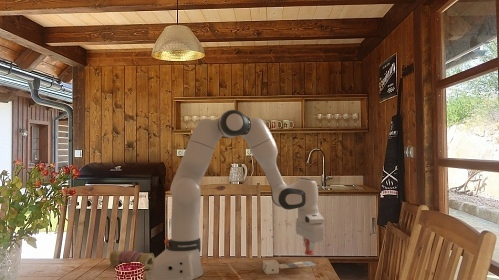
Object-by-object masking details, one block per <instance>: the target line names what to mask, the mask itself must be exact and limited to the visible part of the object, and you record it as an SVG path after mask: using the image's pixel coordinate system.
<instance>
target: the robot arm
mask: <svg viewBox="0 0 499 280" xmlns="http://www.w3.org/2000/svg"><path fill="white" fill-rule="evenodd" d="M236 137H241V138H243V139H244V141H245V142H246V144H247V146H248V148H249V150H250V153H251V154H252V156H253V157H254V159H255V160H256V162H257V163H258V165H259V166H260V167H261V169H262V171H263V173H264V175H265V176H266V180H267V181H268V182H267V183H269V186H270V187H269V188H270V196H271V197H270V198H271V200H272V202H273V204H274V205H275V206H277V207H278V208H279V207H280V208H282V209H284V210H287V211H290V210H294V209H295V210H296V209H297V218H296V219H295V221H296V222H295V232H296V233H295V234H296V235H298V236H300V237H302V241H303V247H304V248H305V249H306V244H305V242H306V239H308V240H309V242H310V245H309V250H311V251H312V250H313V251H315V250H314V249H315V245H316V244H317V243H323V241H324V234H325V233H324V231H325V230H324V229H325V228H324V225H323V224H324V223H325V218H324V217H323V216H322V214H321V213H320V210H319V204H318V202H319V189H318V183H317V182H316V181H315V180H314V179H310V178H304V177H301V178H299V179H298V180H296V181H294V182H293V183H291V184H289V185H288V184H287V183H285V182H284V179H283V177H282V175H281V173H280V170H279V167H278V165H277V158H278V154H279V151H278V146H277V143H276V141H275V138H274V137H273V134H272V132H271V130H270V129H269V127H268V126H267V124H266V123H265V122H264V120H263V119H262V118H260V117H251V118H249V116H247V115H245V114H244V113H243V112H241V111H239V110H236V109H230V110H227V111H225V112H223V113H222V114H221V115H220V116H219V117H218V118H217V119H214V120H213V119H211V118H202V119H201V120H199V121H198V122H197V124H196V125H195V127H194V129H193V131H192V132H191V135H190V138H189V140H188V142H187V145H186V148H185V151H184V154H183V156H182V158H181V160H180V163H179V165H178V167H177V170H176V171H175V174H174V177H173V179H172V182H171V185H170V190H169V191H170V194H171V218H170V219H171V221H170V223H171V224H170V225H171V227H170V228H171V229H170V234H171V235H170V237H171V238H166V239H164V244H165V249H164V250H163V251H162V252H161V253H160V254H158V255H157V256H156V257H155V259H154V261H153V263H152V268H151V269H149V271H147V272H146V273H145V280H194V279H197V278H199V277H201V276H203V274H204V273H205V272H204V270H203V266H202V262H201V261H202V260H201V250H202V249H201V243H202V242H201V238H200V213H201V212H200V211H201V198H202V197H201V196H202V195H201V193H202V189H201V182H202V180H203V179H204V176H205V175H206V172H207V170H208V169H209V167H210V164H211V161H212V158H213V155H214V153H215V150H216V148H217V144H218V142H219V140H221V138H222V139H223V138H224V139H234V138H236Z"/></svg>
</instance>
